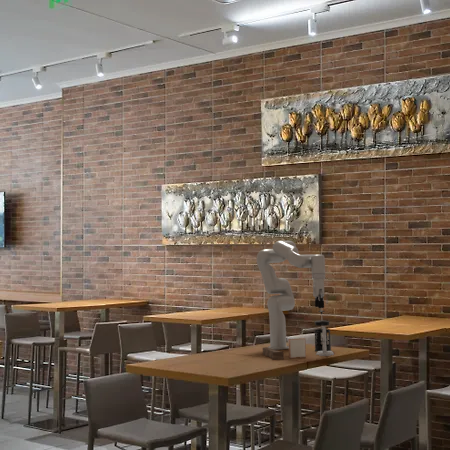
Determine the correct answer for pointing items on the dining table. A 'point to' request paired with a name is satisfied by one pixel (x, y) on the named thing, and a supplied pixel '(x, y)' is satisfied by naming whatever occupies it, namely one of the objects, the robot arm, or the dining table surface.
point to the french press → (318, 332)
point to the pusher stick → (273, 353)
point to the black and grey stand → (324, 346)
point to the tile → (297, 347)
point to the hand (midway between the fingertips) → (319, 307)
